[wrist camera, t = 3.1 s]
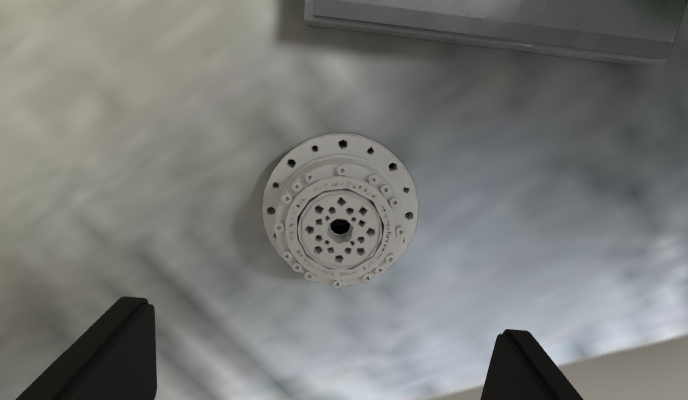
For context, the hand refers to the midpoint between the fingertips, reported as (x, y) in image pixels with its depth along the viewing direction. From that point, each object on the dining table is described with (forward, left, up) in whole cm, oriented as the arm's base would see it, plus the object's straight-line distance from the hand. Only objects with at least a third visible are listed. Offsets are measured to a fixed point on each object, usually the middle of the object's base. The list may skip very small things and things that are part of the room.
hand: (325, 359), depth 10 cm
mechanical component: (-1, +1, -16) cm, 16 cm away
